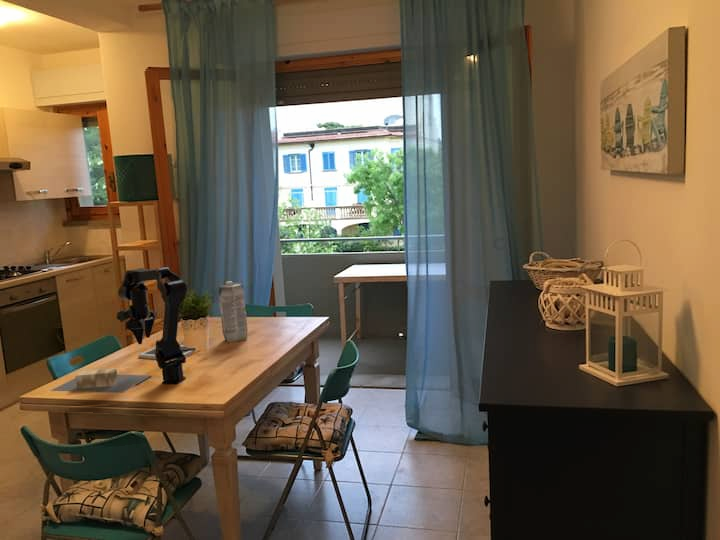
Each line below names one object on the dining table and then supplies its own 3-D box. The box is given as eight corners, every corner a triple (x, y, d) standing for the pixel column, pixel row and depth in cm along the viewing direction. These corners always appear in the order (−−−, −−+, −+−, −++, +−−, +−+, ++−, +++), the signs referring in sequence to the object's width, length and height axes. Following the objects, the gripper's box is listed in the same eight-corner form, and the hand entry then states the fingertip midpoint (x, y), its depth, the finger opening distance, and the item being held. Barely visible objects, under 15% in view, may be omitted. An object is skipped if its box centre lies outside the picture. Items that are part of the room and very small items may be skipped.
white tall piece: (116, 368, 222) (81, 371, 222) (111, 372, 217) (75, 375, 217) (118, 381, 223) (82, 384, 223) (113, 386, 218) (77, 388, 218)
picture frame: (201, 351, 261) (164, 348, 269) (200, 345, 260) (163, 342, 269) (176, 362, 246) (138, 359, 255) (176, 356, 246) (137, 352, 254)
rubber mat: (151, 376, 228) (151, 375, 228) (122, 394, 211) (122, 392, 211) (84, 375, 235) (83, 373, 235) (50, 392, 218) (50, 390, 218)
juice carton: (249, 339, 272) (244, 281, 268) (226, 343, 268) (220, 284, 264) (244, 335, 280) (239, 279, 276) (222, 339, 276) (216, 282, 272)
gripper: (127, 297, 237) (131, 335, 240) (108, 308, 219) (114, 349, 221) (155, 296, 237) (159, 334, 240) (139, 306, 219) (144, 347, 221)
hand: (144, 340), depth 231 cm, fingers open, 9 cm apart
